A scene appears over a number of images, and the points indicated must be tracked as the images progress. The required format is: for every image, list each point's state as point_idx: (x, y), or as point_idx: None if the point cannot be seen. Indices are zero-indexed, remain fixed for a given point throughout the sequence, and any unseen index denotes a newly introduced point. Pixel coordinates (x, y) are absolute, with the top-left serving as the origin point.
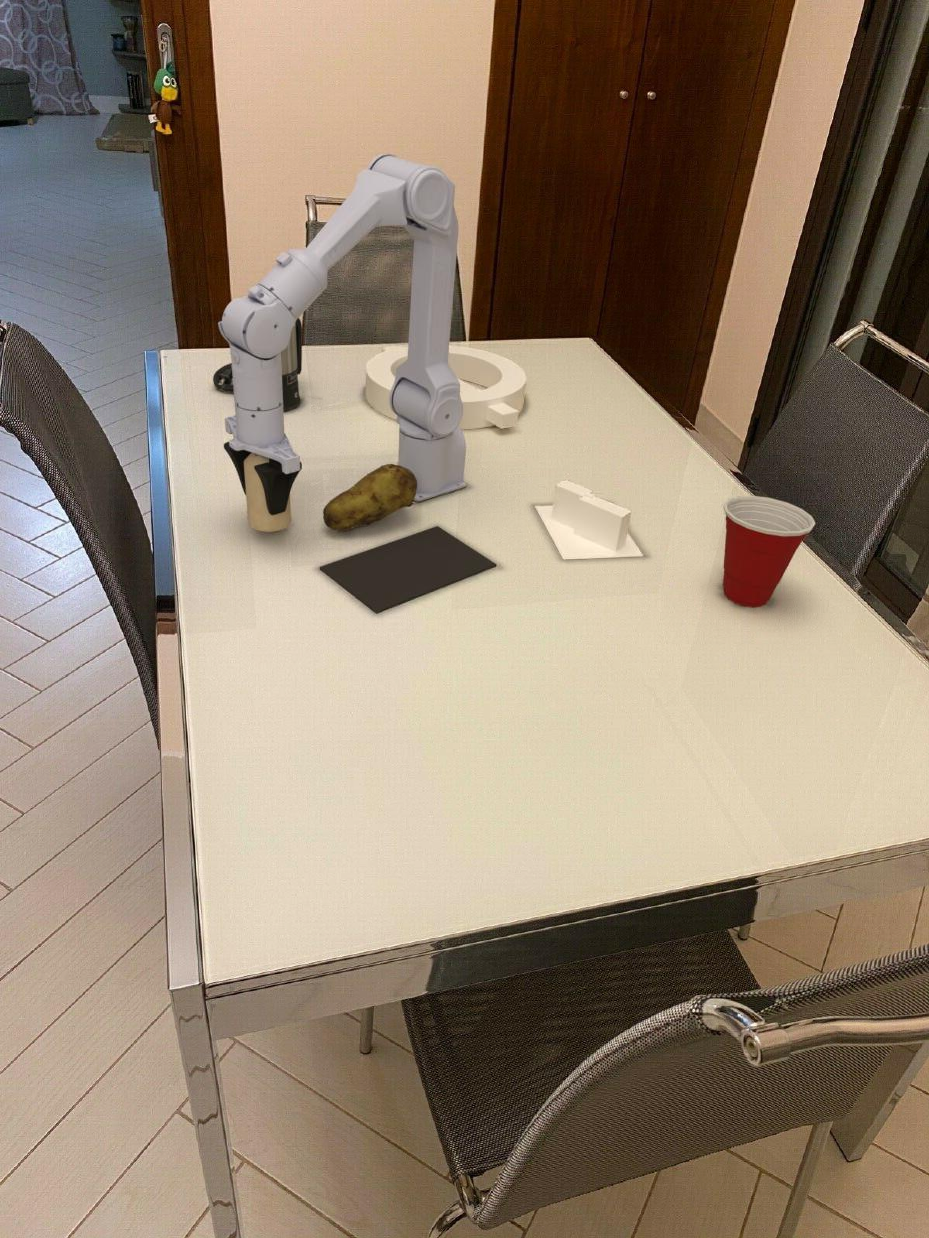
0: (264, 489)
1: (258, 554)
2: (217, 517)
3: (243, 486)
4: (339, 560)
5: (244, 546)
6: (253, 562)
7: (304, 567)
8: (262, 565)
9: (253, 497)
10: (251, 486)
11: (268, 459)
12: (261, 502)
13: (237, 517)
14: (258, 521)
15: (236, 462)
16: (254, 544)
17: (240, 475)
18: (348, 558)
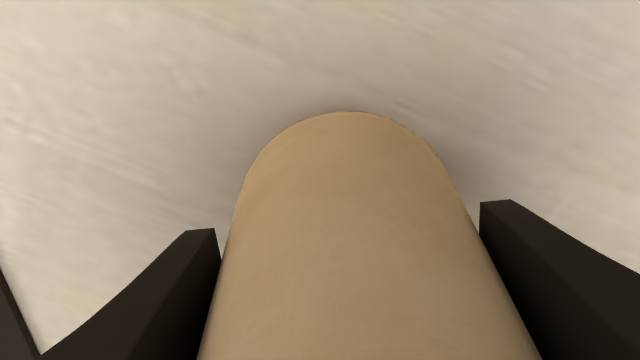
0: (129, 333)
1: (184, 56)
2: (624, 24)
3: (519, 225)
4: (6, 308)
5: (285, 27)
6: (118, 2)
7: (9, 182)
8: (76, 30)
9: (291, 219)
10: (304, 268)
11: None
12: (243, 238)
13: (560, 111)
14: (276, 152)
15: (638, 343)
16: (282, 77)
17: (564, 268)
18: (14, 337)
